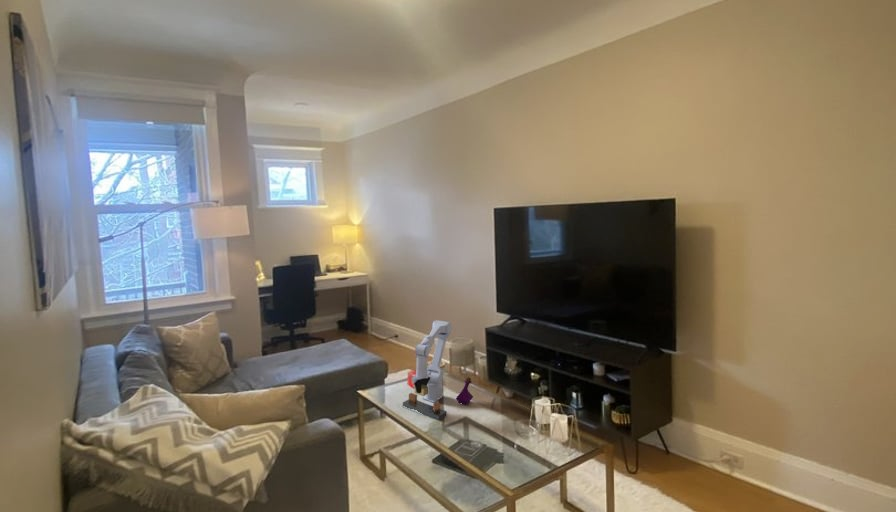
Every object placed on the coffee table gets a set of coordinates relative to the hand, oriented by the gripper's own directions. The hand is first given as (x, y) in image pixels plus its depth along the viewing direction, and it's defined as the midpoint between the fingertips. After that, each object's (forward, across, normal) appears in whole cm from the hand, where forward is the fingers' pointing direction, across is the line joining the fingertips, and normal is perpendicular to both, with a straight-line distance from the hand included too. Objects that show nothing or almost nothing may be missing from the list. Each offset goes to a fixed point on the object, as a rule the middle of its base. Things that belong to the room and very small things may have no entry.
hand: (421, 391), depth 250 cm
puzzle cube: (+10, +23, +21) cm, 33 cm away
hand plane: (+10, 0, -3) cm, 11 cm away
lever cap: (+1, 0, 0) cm, 1 cm away
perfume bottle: (+10, +21, -14) cm, 28 cm away
